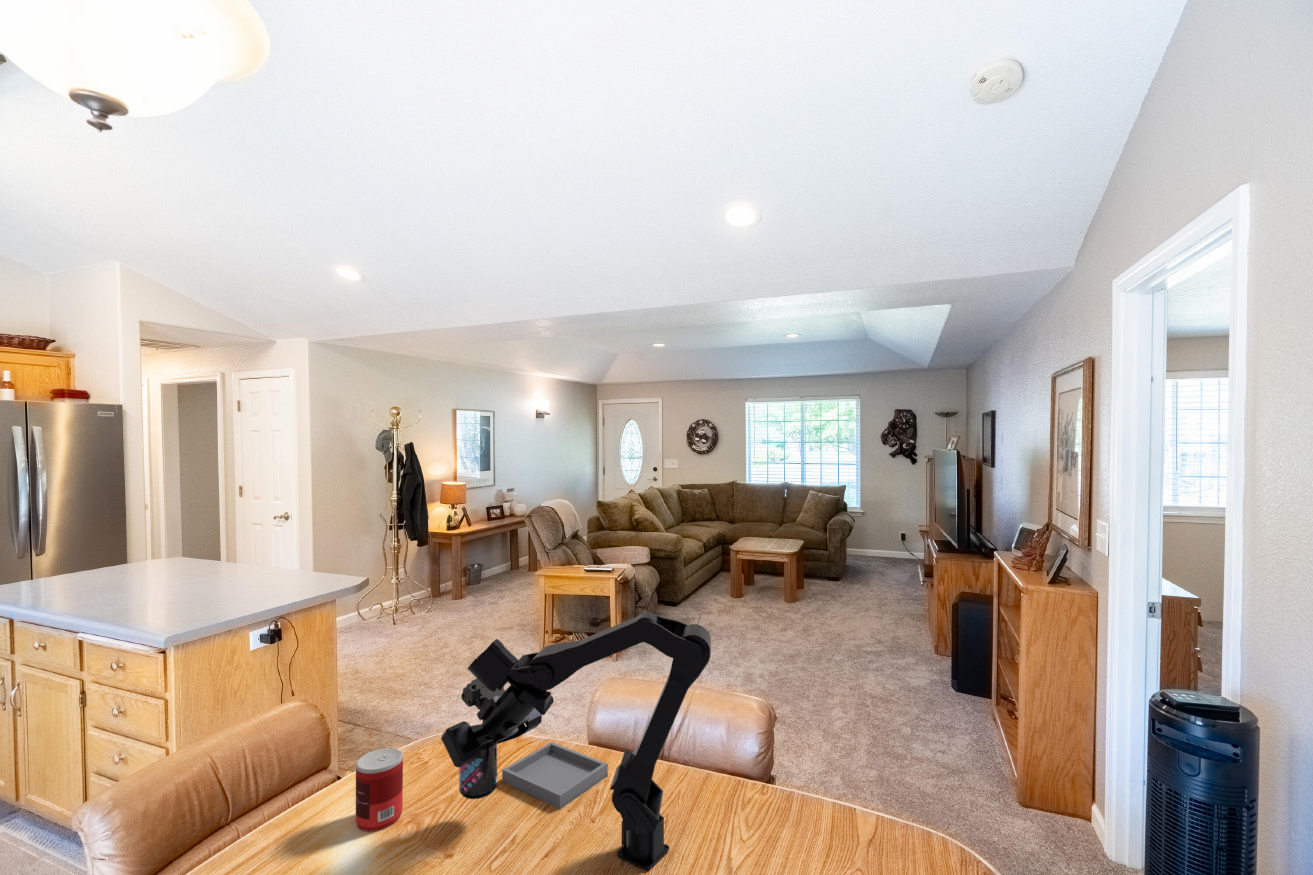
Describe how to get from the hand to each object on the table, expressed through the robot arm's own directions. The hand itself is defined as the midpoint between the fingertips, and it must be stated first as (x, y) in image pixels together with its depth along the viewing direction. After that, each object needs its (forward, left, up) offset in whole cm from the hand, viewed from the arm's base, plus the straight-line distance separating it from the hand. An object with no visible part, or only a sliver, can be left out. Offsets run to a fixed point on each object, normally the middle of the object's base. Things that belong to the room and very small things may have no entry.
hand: (473, 751), depth 112 cm
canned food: (+14, +10, -12) cm, 21 cm away
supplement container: (-1, 0, -7) cm, 7 cm away
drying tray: (-3, -18, -12) cm, 22 cm away
